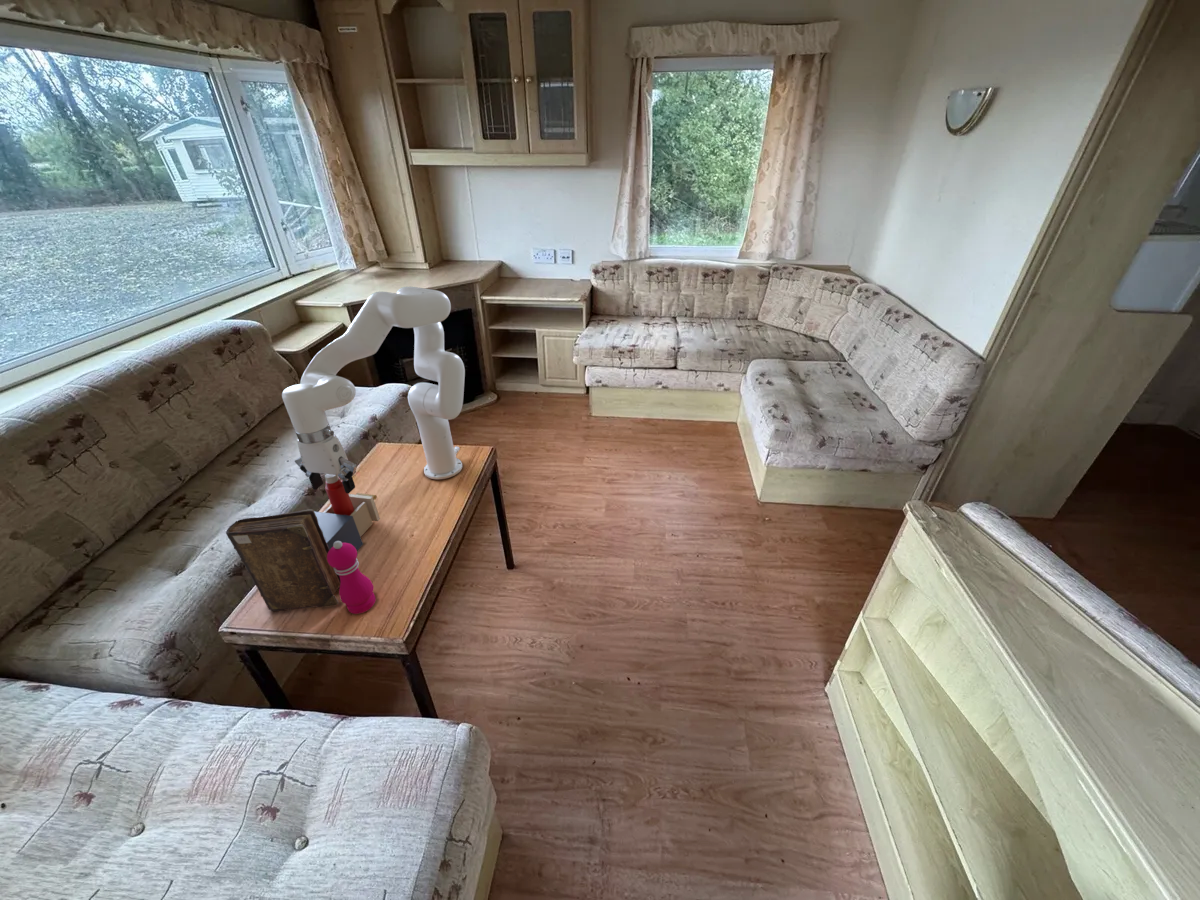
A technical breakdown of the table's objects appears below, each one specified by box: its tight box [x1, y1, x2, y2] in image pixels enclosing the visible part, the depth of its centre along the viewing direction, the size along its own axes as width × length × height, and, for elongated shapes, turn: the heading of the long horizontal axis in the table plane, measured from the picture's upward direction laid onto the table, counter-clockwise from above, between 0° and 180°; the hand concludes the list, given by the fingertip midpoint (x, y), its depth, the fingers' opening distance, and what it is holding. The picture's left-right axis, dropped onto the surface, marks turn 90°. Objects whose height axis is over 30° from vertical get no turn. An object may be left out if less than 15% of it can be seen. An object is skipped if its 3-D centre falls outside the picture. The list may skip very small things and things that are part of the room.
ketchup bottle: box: [324, 474, 355, 516], centre depth 131 cm, size 5×5×18 cm
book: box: [225, 508, 341, 612], centre depth 110 cm, size 17×7×25 cm, turn 93°
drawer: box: [323, 492, 381, 537], centre depth 136 cm, size 18×10×8 cm, turn 169°
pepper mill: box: [327, 541, 377, 615], centre depth 110 cm, size 7×7×20 cm
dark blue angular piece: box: [314, 510, 364, 552], centre depth 125 cm, size 15×12×10 cm
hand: (334, 488), depth 128 cm, fingers open, 9 cm apart
